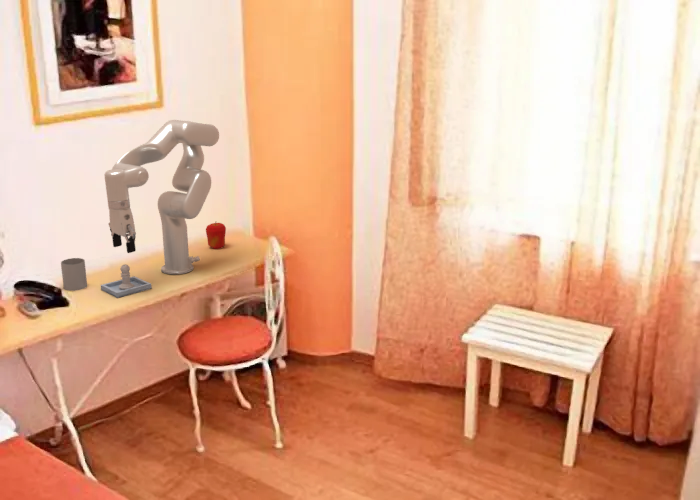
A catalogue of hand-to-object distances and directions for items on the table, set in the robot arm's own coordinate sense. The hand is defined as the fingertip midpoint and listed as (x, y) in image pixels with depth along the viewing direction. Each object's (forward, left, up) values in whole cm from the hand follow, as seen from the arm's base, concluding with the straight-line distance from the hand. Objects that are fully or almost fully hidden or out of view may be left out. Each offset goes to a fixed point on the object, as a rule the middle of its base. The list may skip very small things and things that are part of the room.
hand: (124, 249), depth 296 cm
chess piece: (+1, 0, -15) cm, 15 cm away
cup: (+13, -16, -16) cm, 26 cm away
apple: (-54, -20, -16) cm, 60 cm away
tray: (+1, 0, -15) cm, 15 cm away
